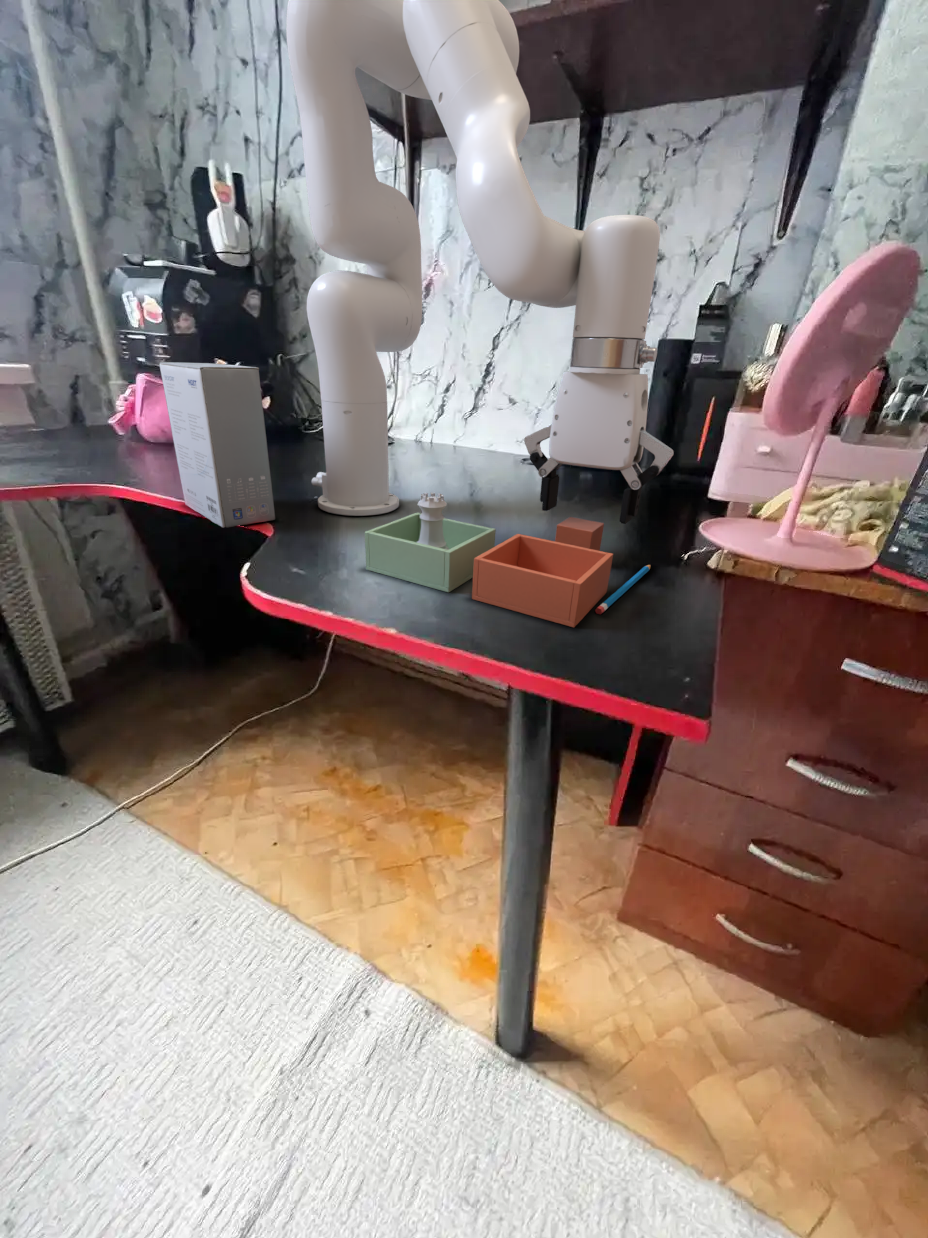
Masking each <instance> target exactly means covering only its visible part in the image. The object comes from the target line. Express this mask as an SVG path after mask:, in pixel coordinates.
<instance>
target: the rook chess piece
mask: <svg viewBox="0 0 928 1238" xmlns="http://www.w3.org/2000/svg"><path fill="white" fill-rule="evenodd" d="M444 497H445V496H444V495H443V493H440V492H439V493H437V496H436V492H430V496H429V493H428V492H424V493H423V494H422V493H421V494H420V499H419V501H418V502H417V506H418V507H419V508H420V510H421V513H422V514H421V515H420V519H421V532H420V538H419V541H417V543H421V544H425V545H429V546H434V547H438V548H442V549H446V550H449V548H448V547H447V546H446V542H445V540H444V535H443V526H442V523H443V519H444V518H445V516H444V515H443V511H444V509H445V508H446V507H447V505H448V504H447V502H446V501H445V500H444V499H445V498H444Z"/></svg>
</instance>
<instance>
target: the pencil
mask: <svg viewBox="0 0 928 1238" xmlns="http://www.w3.org/2000/svg"><path fill="white" fill-rule="evenodd" d="M650 569H651V564H647V565H644V566H643V567H642V568H641V569H640V570H639V571H637V572H636V573H635V574H634V575H633V576H632V577H631V578H629V580H627V581H626V582H625V583H624V584H622V585H621V586H620V587H619V588H618V589H617V590H616V591H614V593H612V594H611V595H610V596H609V597H608V598H607V599H605V600H604V601H603V602H602V603H600V605H599V606H597V607H596V609H594V612H595V614H597V615H602V614H603V613H604V612H605V611H606V610H607V609H608V608H609V607H610V606H612V605H613V604H614V603H615V602H616V601H617V600H618V599H620V597H622V596H623V595H624V594H625V593H626V592H627V591H628V590H629V589H630V588H632V587H633V586H634V584H636V583H637V582H638V581H639V580H640V579H641V578H643V577H644V576H645V575H646V574H647V573H648V572H649V571H650Z"/></svg>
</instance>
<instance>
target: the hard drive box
mask: <svg viewBox="0 0 928 1238" xmlns="http://www.w3.org/2000/svg"><path fill="white" fill-rule="evenodd" d="M158 366H159V370H160V376H161V381H162V386H163V391H164V398H165V402H166V408H167V415H168V419H169V424H170V430H171V431H170V432H171V436H172V440H173V446H174V451H175V452H174V453H175V459H176V462H177V468H178V473H179V478H180V485H181V490H182V495H183V500H184V504H185V506H186V507H188V508H190V509H191V510H193V511H194V512H196V513H198V514H200V515H201V516H203V517H205V518H206V519H208V520H209V521H210V522H212V523H214V524H216V525H217V526H219V527H221V528H223V529H225V528H226V529H227V528H232V527H238V526H245V525H251V524H256V523H262V522H263V523H264V522H269V521H275V520H276V513H275V505H274V495H273V485H272V478H271V469H270V461H269V460H270V459H269V452H268V442H267V441H268V440H267V434H266V425H265V416H264V407H263V406H264V405H263V398H262V389H261V380H260V372H259V371H260V367H256V366H245V365H236V364H223V363H222V364H221V363H211V362H210V363H209V362H173V361H172V362H169V361H168V362H167V361H164V362H163V361H160V362H159V364H158Z"/></svg>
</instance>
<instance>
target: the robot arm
mask: <svg viewBox="0 0 928 1238" xmlns="http://www.w3.org/2000/svg"><path fill="white" fill-rule="evenodd" d="M285 22H286V23H285V29H286V30H285V31H286V46H287V55H288V61H289V67H290V72H291V73H290V74H291V78H292V84H293V86H294V92H295V97H296V102H297V108H298V114H299V119H300V121H299V122H300V129H301V137H302V138H301V139H302V151H303V152H302V153H303V154H302V155H303V162H304V163H303V164H304V174H305V183H306V184H305V185H306V193H307V205H308V213H309V221H310V227H311V232H312V236H313V238H314V241H315V243H316V245H317V246H318V247H319V248H320V249H321V250H322V251H323V252H324V253H326V254H327V255H329V256H332V257H334V258H337V259H341V260H344V261H349V262H353V263H357V264H363V265H366V272H367V273H363V272H356V271H351V270H339V269H337V270H331V271H327V272H325V273H323V274H321V275H319V276H318V277H317V278H316V279H315V280H314V281H313V283H312V284H311V286H310V287H309V290H308V293H307V297H306V315H307V321H308V327H309V330H310V335H311V338H312V343H313V346H314V351H315V357H316V362H317V370H318V380H319V393H320V402H321V403H320V404H321V416H322V417H321V418H322V431H323V433H322V434H323V448H324V461H325V462H324V463H325V472H324V471H323V472H322V471H319V472H317V473H316V475H315V477H312V478H311V485H312V486H314V487H318V488H321V489H322V495H320V496H319V497H318V498H317V505H318V508H319V509H320V510H322V511H324V512H327V513H330V514H333V515H340V516H351V517H352V516H354V517H363V516H376V515H377V516H378V515H383V514H387V513H390V512H393V511H395V510H397V509H398V508H399V507H400V499H399V497H398V496H397V495H396V494H393V493H391V492H390V480H389V479H390V475H389V474H390V473H389V471H390V469H389V465H390V464H389V423H388V422H389V418H388V417H389V415H388V414H389V413H388V388H387V381H386V376H385V372H384V369H383V366H382V364H381V361H380V359H379V356H378V353H399V352H403V351H406V350H407V349H409V348H410V347H412V345H413V344H414V343H415V342H416V340H417V338H418V336H419V334H420V330H421V327H422V320H423V284H422V283H423V282H422V281H423V279H422V277H423V275H422V242H421V229H420V224H419V219H418V216H417V213H416V211H415V209H414V206H413V205H412V203H411V201H410V200H409V198H408V197H407V196H406V195H405V194H404V193H403V192H402V191H401V190H400V189H397V188H396V187H393V186H392V185H389V184H387V183H384V182H382V181H379V179H378V178H377V174H376V169H375V160H374V146H373V145H374V144H373V143H374V141H373V129H372V124H371V123H372V122H371V119H370V114H369V110H368V107H367V103H366V101H365V98H364V96H363V93H362V91H361V88H360V85H359V83H358V79H357V76H356V69H357V68H358V69H360V70H361V71H362V72H364V73H365V74H367V75H369V76H371V77H373V78H374V79H375V80H377V81H379V82H380V83H382V84H385V85H386V86H387V87H389V88H391V89H393V90H394V91H396V92H399V93H401V94H403V95H405V96H409V97H414V98H416V99H417V98H418V99H421V100H422V99H424V100H428V101H429V100H430V101H432V104H433V106H434V108H435V110H436V113H437V116H438V117H439V119H440V122H441V125H442V126H443V129H444V132H445V133H446V136H447V138H448V141H449V144H450V145H451V149H452V150H453V152H454V155H455V157H456V165H455V188H456V198H457V207H458V211H459V214H460V218H461V221H462V224H463V226H464V229H465V231H466V233H467V236H468V239H469V241H470V243H471V245H472V247H473V250H474V252H475V255H476V257H477V258H478V260H479V263H480V265H481V267H482V269H483V271H484V273H485V274H486V276H487V277H488V279H489V281H490V283H491V284H492V285H493V286H494V287H495V288H496V290H497V291H498V292H499V293H501V294H502V295H503V296H504V297H506V298H508V299H510V300H513V301H517V302H521V303H527V304H533V305H536V306H539V307H540V306H541V307H544V308H545V307H546V308H551V309H562V308H569V307H573V306H574V307H575V310H574V320H573V329H572V340H571V350H570V358H569V359H570V360H569V367H568V368H569V369H568V371H567V370H565V371H563V373H562V376H561V380H560V383H559V387H558V391H557V395H556V399H555V403H554V409H553V412H552V413H553V414H552V420H551V424H549V425H547V426H545V427H543V428H541V429H539V430H537V431H534V432H532V433H530V434H527V435H526V436H525V437H523V438H524V439H523V442H524V445H525V447H526V451H527V453H528V454H529V460H530V462H531V463H532V465H533V466H534V467H535V469H536V470H537V473H538V476H539V477H540V478H541V483H540V495H539V501H540V502H541V503H542V506H541V511H544V512H548V511H550V510H552V509H554V508H556V507H557V505H558V496H559V485H560V475H559V474H557V472H558V470H559V469H560V468H561V467H562V466H563V465H568V466H569V465H570V466H577V467H586V468H593V469H600V470H609V471H611V470H612V471H619V472H621V475H622V476H623V478H624V480H625V481H626V482H627V488H625V489H624V490H623V495H622V501H621V509H620V515H619V523H620V524H622V525H626V524H628V523H629V522H630V521H631V520H632V519H633V517H636V516H637V515H638V512H639V507H640V501H641V496H642V489H643V488H642V487H643V486H645V485H646V484H647V483H649V482H650V481H651V480H653V479H654V478H656V477H657V476H658V475H660V473H662V471H663V469H664V468H665V467H666V466H667V464H668V463H669V461H671V459H672V458H673V456H674V452H675V451H674V450H673V449H672V448H671V447H669V446H668V445H666V444H665V443H664V442H662V441H661V440H659V439H658V438H656V437H655V436H653V435H652V434H650V433H649V432H648V431H646V429H647V421H648V420H647V418H648V406H649V401H648V400H649V377H648V374H647V373H641V369H643V366H644V365H645V364H648V363H649V362H650V363H652V362H653V363H654V362H656V360H657V356H658V348H657V347H651V346H650V345H648V344H647V340H646V334H647V328H648V321H649V316H650V315H649V314H650V309H651V308H650V307H651V301H652V295H653V290H654V289H653V288H654V281H655V274H656V268H657V262H658V255H659V248H660V241H661V231H660V227H659V225H658V223H657V221H655V220H654V219H652V218H650V217H647V216H645V215H641V214H640V215H639V214H615V215H614V214H613V215H606V216H602V217H600V218H597V219H595V220H593V221H591V222H590V223H589V224H588V225H587V227H586V228H585V229H584V230H580V229H576V228H573V227H570V226H568V225H565V224H563V223H561V222H559V221H557V220H554V219H553V218H551V217H549V216H546V215H545V214H544V213H543V211H542V209H541V207H540V205H539V202H538V201H537V198H536V196H535V193H534V191H533V189H532V188H531V185H530V183H529V180H528V178H527V175H526V172H525V170H524V168H523V164H522V161H521V158H520V155H519V151H518V147H520V145H521V144H522V142H523V140H524V138H525V136H526V135H527V133H528V130H529V125H530V121H531V108H530V105H529V104H530V103H529V101H528V99H527V96H526V94H525V91H524V89H523V87H522V85H521V83H520V80H519V77H518V76H517V71H518V66H519V61H520V40H519V35H518V30H517V27H516V25H515V21H514V19H513V18H512V16H511V14H510V11H509V10H508V8H506V7H505V6H504V4H503V3H502V2H501V1H500V0H287V7H286V21H285ZM547 439H549V441H548V455H549V458H548V457H547V456H546V454H544V452H543V451H542V447H541V443H542V442H543V441H546V440H547ZM644 449H645V450H647V451H648V452H650V453H651V454H652V455H654V460H653V461H652V463H651V464H650V466H649V467H647V468H646V469H645V470H644V471H643V470H642V468H641V467H640V465H639V463H640V462H641V460H642V458H643V454H644Z"/></svg>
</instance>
